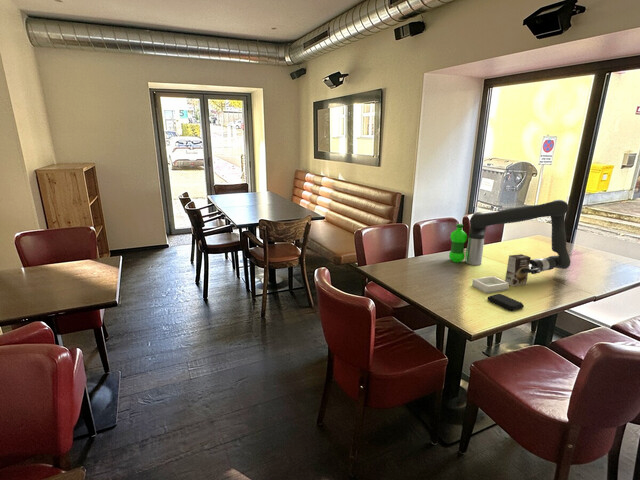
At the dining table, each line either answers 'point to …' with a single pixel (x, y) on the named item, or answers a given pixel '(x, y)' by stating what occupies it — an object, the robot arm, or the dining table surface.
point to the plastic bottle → (457, 244)
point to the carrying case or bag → (505, 302)
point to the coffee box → (517, 270)
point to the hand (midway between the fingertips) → (515, 268)
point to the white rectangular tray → (490, 284)
